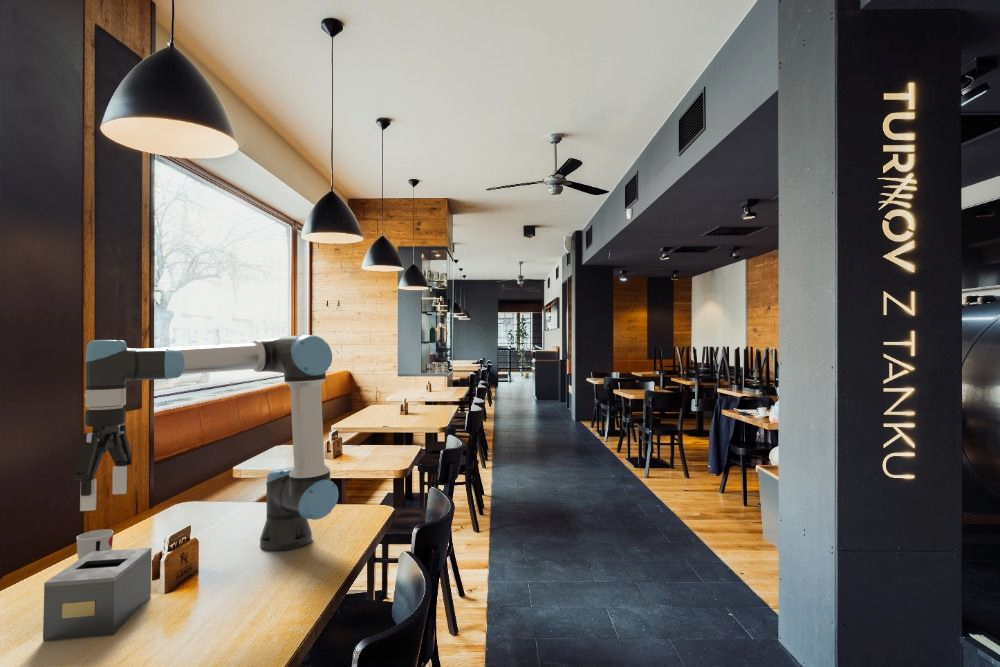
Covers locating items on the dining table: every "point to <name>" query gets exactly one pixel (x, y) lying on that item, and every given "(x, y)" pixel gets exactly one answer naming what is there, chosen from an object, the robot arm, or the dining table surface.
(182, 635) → the dining table surface
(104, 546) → the cup
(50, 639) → the tip box
